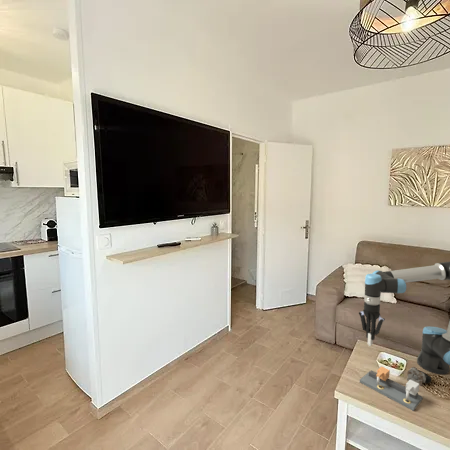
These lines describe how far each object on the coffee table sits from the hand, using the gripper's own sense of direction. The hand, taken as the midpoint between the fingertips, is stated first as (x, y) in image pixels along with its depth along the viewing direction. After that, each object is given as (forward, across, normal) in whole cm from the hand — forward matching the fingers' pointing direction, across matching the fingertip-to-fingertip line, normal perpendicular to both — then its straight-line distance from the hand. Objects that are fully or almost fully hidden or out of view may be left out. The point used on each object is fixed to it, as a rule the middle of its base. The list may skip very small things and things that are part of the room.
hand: (370, 344), depth 149 cm
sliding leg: (+16, +7, -2) cm, 18 cm away
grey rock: (+19, +18, +18) cm, 32 cm away
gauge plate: (+19, +12, -3) cm, 22 cm away
